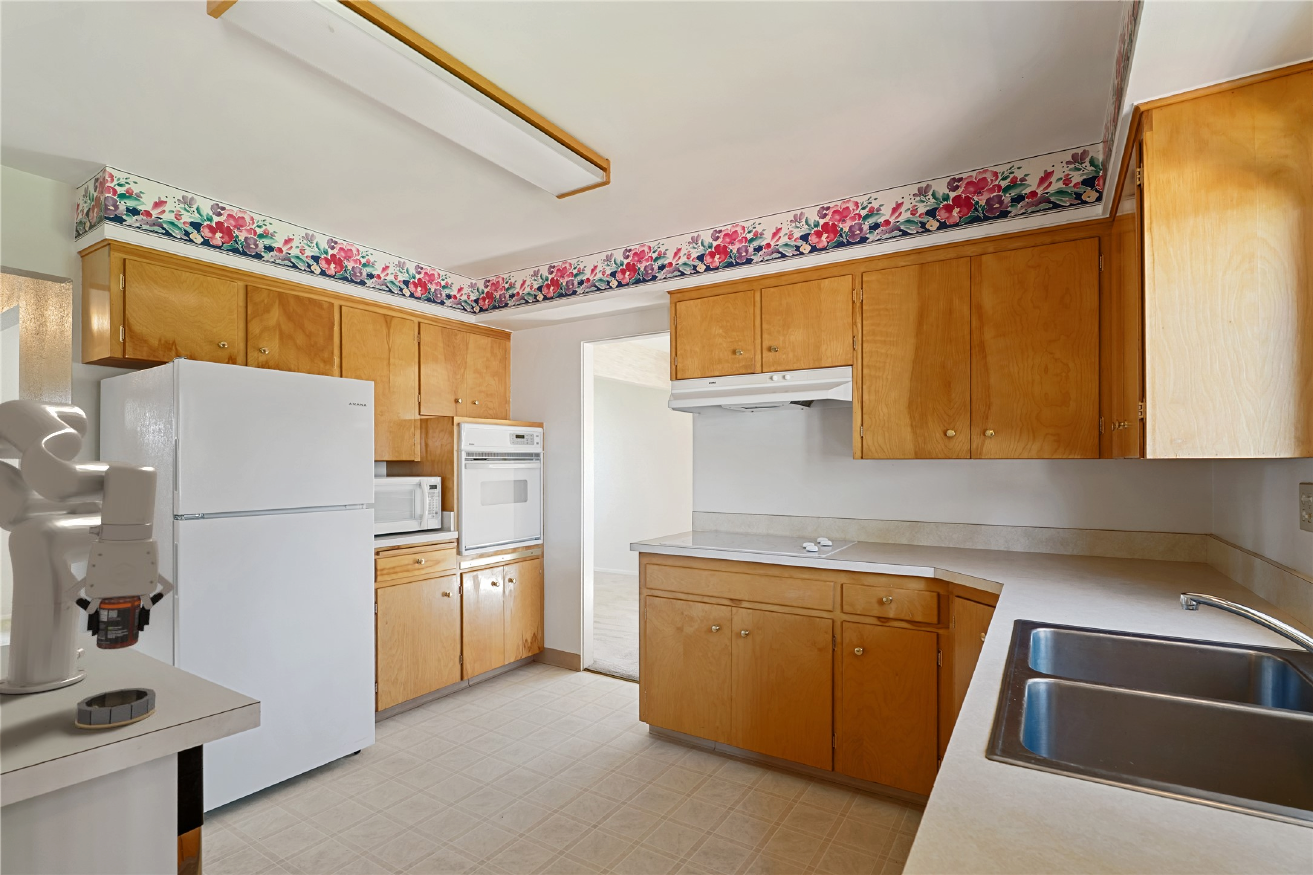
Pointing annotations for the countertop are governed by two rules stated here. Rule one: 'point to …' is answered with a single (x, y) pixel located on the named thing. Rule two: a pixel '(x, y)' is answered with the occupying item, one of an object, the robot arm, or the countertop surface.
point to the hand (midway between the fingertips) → (118, 630)
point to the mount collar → (115, 708)
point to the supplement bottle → (118, 622)
